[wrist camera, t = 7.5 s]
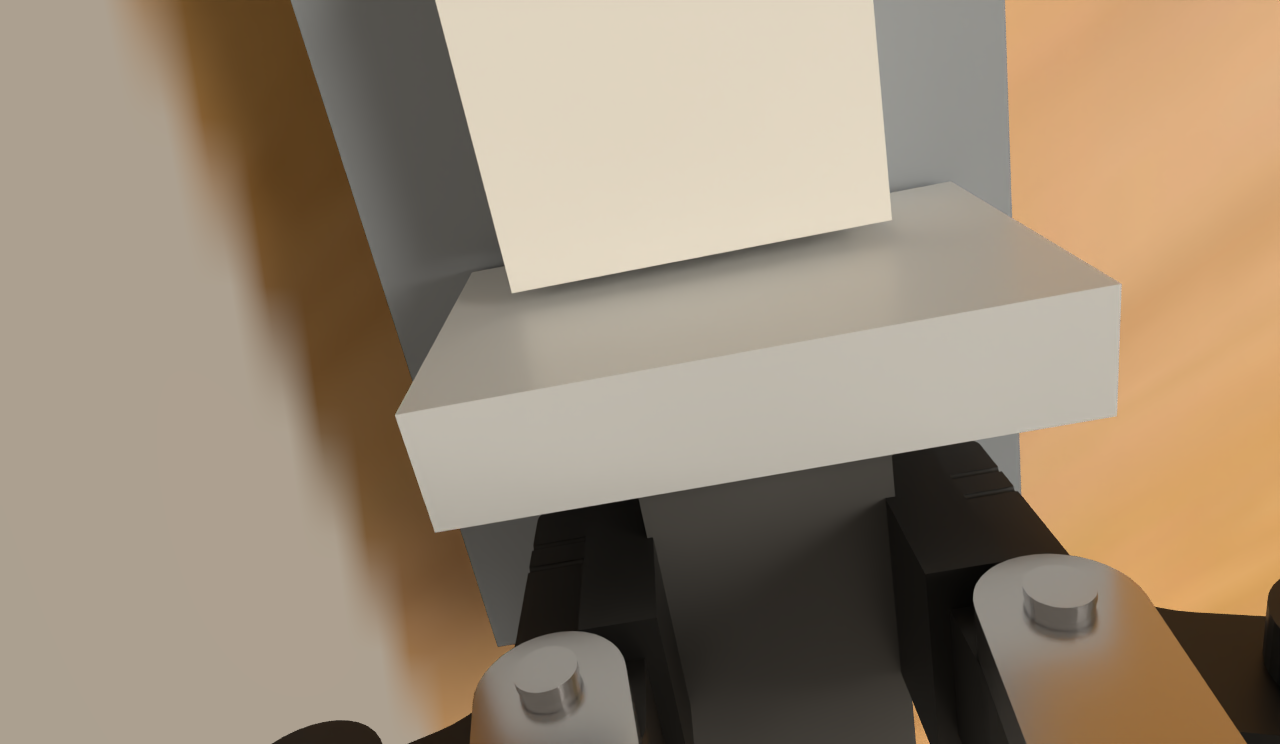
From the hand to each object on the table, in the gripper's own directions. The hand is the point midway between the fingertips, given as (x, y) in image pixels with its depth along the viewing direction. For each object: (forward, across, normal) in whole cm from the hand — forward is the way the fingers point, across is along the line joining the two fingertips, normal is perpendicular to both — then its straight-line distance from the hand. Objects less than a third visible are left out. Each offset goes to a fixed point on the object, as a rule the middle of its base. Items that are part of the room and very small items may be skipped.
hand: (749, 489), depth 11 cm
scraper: (+1, 0, +1) cm, 1 cm away
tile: (+1, 0, -5) cm, 5 cm away
